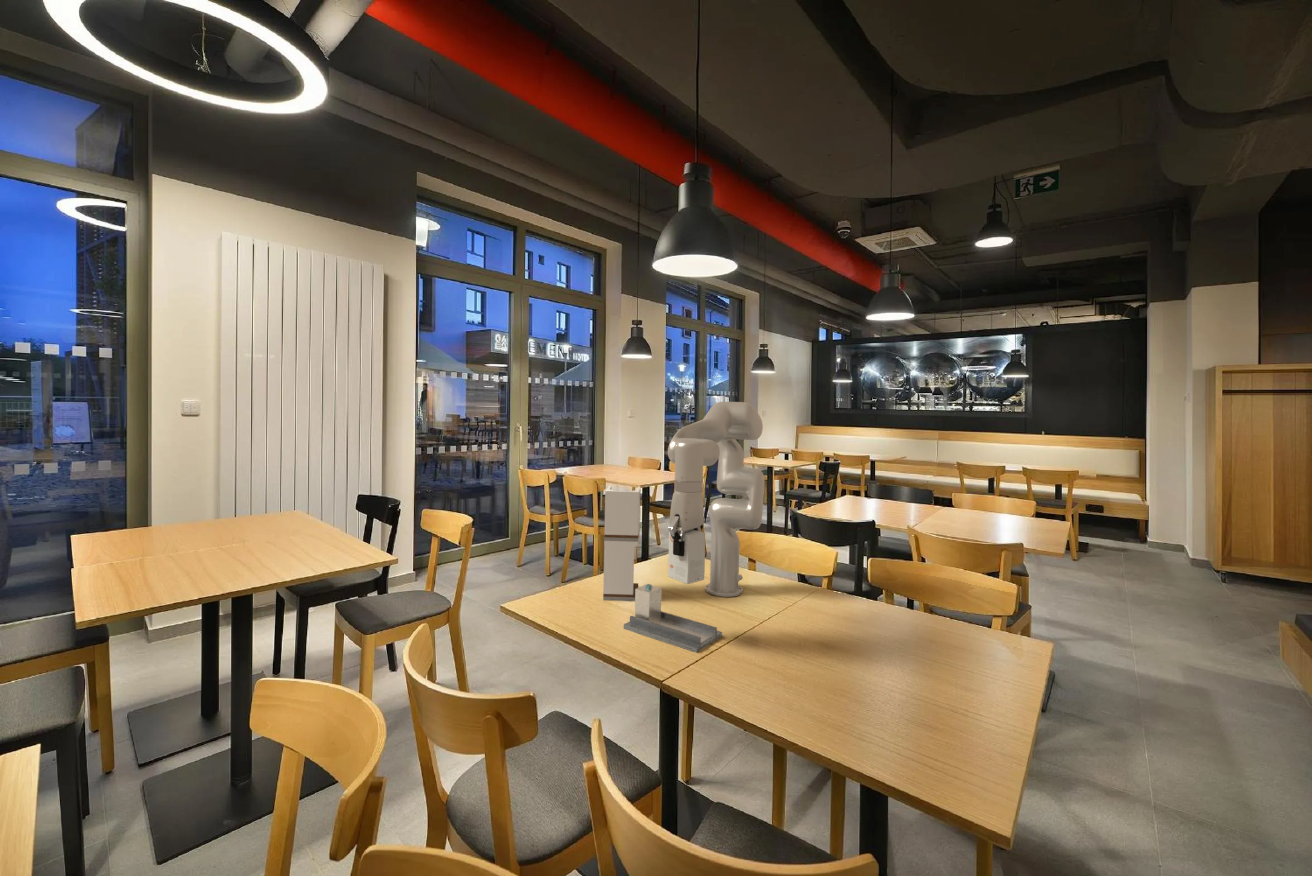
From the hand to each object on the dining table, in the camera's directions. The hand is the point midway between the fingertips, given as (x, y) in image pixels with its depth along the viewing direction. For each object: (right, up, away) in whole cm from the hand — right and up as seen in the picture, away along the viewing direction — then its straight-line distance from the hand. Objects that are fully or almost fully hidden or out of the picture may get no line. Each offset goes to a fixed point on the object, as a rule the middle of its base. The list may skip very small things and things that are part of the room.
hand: (686, 551), depth 151 cm
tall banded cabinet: (-20, -21, +33) cm, 44 cm away
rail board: (-4, -23, +4) cm, 24 cm away
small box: (0, -8, 0) cm, 8 cm away
